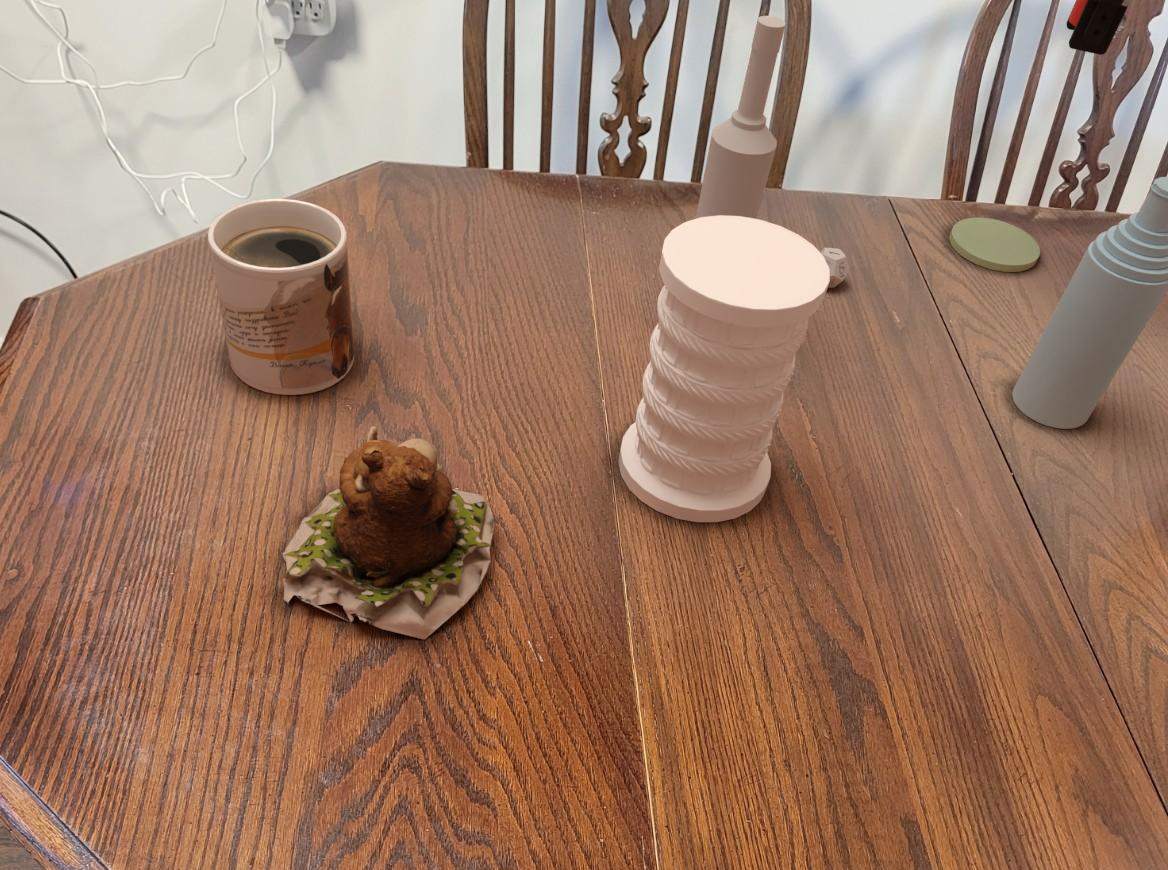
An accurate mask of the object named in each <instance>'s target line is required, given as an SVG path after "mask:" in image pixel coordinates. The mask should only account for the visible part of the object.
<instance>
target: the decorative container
mask: <svg viewBox="0 0 1168 870" xmlns="http://www.w3.org/2000/svg"><path fill="white" fill-rule="evenodd" d="M820 252H821V251H819V250H818V249H817V247H815V245H814V244H813V243H811V242H810V241H809V240H807V239H805V238H804V237H803V236H801V235H799V234H798V233H796V232H794V231H792V230H790V229H788V228H786V227H784V226H782V225H779V224H775V223H772V222H769V221H766V220H763V219H758V218H757V219H753V218H748V217H742V216H725V215H718V216H708V217H700V218H697V219H696V218H694V219H691V220H687V221H684V222H683V223H681V224H679V225H677V226H676V227H674V228H673V229H671V231H669V233H668V234H667V235H666V237H665V238H664V240H663V245H662V250H661V254H660V260H659V261H660V262H659V266H658V271H659V274H660V278H661V281H662V283H663V286H662V288H661V290H660V292H659V294H658V297H657V303H656V311H657V315H656V316H657V320H658V323H657V324H656V325H655V327H654V329H653V331H652V332H651V335H650V338H649V358H650V361H649V363H648V364H647V366H646V368H645V370H644V373H643V375H642V385H641V387H642V398H641V400H640V402H639V404H638V406H637V409H636V413H635V414H636V415H635V422H634V423H632V424H630V425H629V427H628V429H626V431H625V433H624V434H623V436H622V440H621V444H620V449H619V450H620V451H619V456H618V461H617V462H618V467H619V473H620V476H621V478H622V480H623V481H624V483H625V486H626V487H627V489H628V490H629V491H630V492H631V493H632V494H633V495H634V496H635V497H636V498H637V499H638V500H640V502H641V503H643V504H646V505H647V506H648V507H650V508H651V509H653V510H655V511H656V512H658V513H661V514H663V515H666V516H669V517H672V518H674V519H677V520H682V521H687V522H692V523H720V522H724V521H729V520H734V519H737V518H739V517H742V516H743V515H745V514H747V513H749V512H751V511H752V510H753V509H754V508H755V507H756V506H757V505H758V504H760V503H761V501H762V500H763V497H764V496H765V493H766V492H767V489H768V487H769V483H770V480H771V475H772V474H771V472H772V462H771V460H770V459H771V458H770V455H769V448H770V447H771V446H772V443H771V441H772V440H773V432H774V431H773V428H774V426H775V424H776V422H777V420H778V419H779V418H780V413H782V412H783V409H782V407H783V406H784V392H785V391H786V389H787V387H788V385H789V384H790V382H791V381H792V376H794V375H795V373H794V370H795V369H796V354H797V353H798V351H799V349H800V347H801V346H802V344H803V342H805V339H804V338H805V337H807V336H808V335H807V333H806V332H807V330H808V329H809V318H810V317H811V316H812V315H813V314H814V313H815V312H817V311H819V309H820V307H821V306H822V303H823V301H824V299H825V296H826V294H827V291H828V288H829V287H828V285H829V282H830V269H829V267H828V265H827V262H826V260H825V258H824V256H823V255H822V254H821V253H820Z"/></svg>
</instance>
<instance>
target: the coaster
mask: <svg viewBox="0 0 1168 870" xmlns="http://www.w3.org/2000/svg"><path fill="white" fill-rule="evenodd" d="M948 239H949V243H950V245H951V247H952V248H953V249H954V251H956V253H957V254H959V256H961V257H963V258H964V259H965V260H967V261H969V262H971V263H973V264H975V265H977V266H979V267H983V268H985V269H988V270H991V271H998V272H1003V273H1018V272H1025V271H1027V270H1029V269H1031V268H1033V267H1034V266H1035V265H1036V263H1037V262H1038V259H1039V258H1040V255H1041V249H1040V246H1039V244H1038V242H1037V241H1036V239H1035V238H1034V237H1033V236H1032V235H1030V234H1029V233H1028V232H1026V231H1025V230H1023V229H1021V228H1020V227H1017V226H1016V225H1013V224H1011V223H1009V222H1005V221H1002V220H999V219H995V218H989V217H969V218H963V219H961V220H959V221H957V222H956V223H955V224H954V225H953V226H952V229H951V231H950V233H949V238H948Z"/></svg>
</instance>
